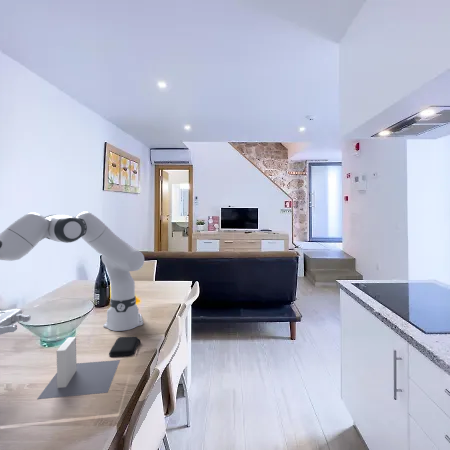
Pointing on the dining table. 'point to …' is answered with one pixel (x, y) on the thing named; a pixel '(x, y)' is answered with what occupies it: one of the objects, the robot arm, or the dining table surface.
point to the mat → (84, 380)
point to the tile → (66, 362)
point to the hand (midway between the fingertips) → (23, 323)
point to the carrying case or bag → (124, 346)
